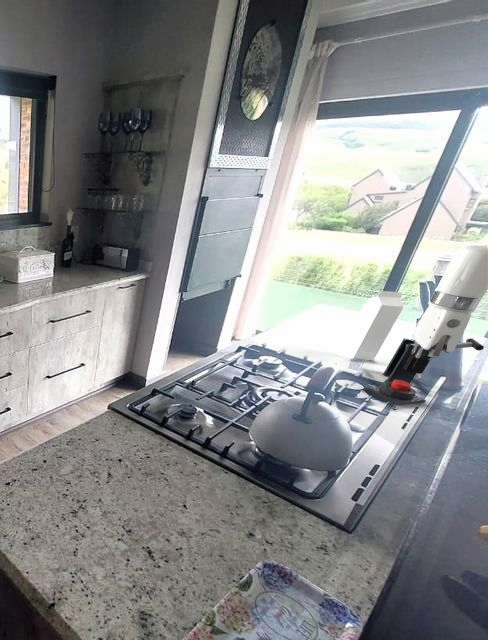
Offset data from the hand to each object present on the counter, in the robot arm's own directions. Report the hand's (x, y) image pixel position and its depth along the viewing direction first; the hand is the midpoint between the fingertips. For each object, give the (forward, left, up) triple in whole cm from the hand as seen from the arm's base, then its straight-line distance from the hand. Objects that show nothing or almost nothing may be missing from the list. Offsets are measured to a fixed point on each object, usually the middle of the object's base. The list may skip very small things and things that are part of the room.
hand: (412, 371), depth 101 cm
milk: (-15, -22, -9) cm, 28 cm away
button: (0, 0, -5) cm, 5 cm away
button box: (0, 0, -9) cm, 9 cm away
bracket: (-10, -7, -9) cm, 15 cm away
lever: (-14, -4, +3) cm, 14 cm away
